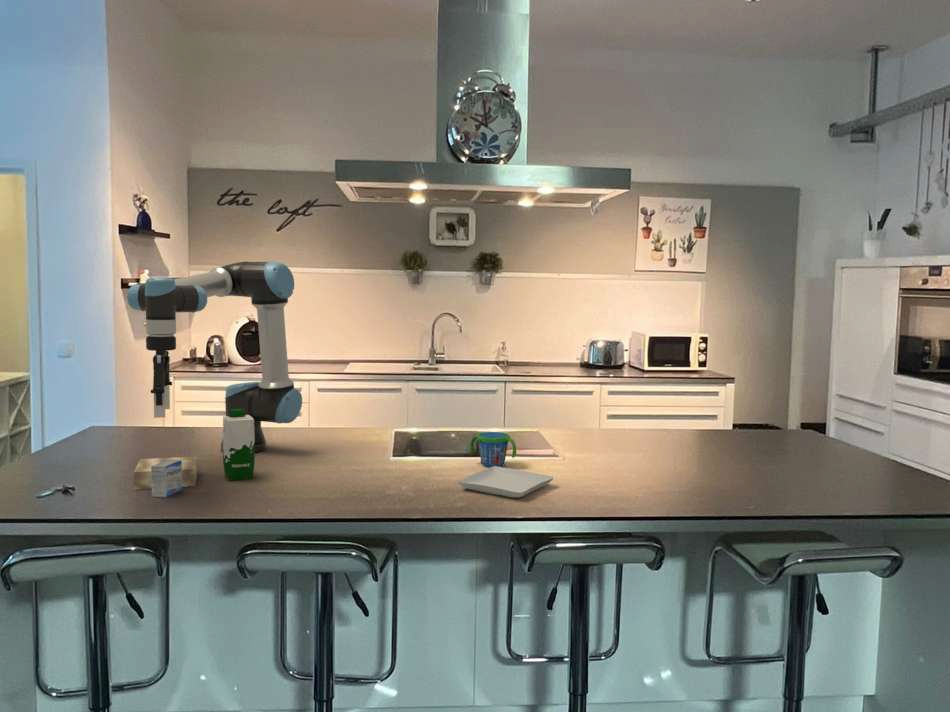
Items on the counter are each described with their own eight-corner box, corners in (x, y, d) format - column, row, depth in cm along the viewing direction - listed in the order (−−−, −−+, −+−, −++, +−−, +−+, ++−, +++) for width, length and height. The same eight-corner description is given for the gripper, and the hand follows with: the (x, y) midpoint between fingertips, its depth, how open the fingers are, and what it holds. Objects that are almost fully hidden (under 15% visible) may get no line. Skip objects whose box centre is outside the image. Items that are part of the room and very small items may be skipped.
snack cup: (463, 465, 253) (464, 434, 252) (480, 459, 262) (480, 429, 261) (505, 472, 245) (506, 440, 244) (521, 465, 254) (522, 434, 253)
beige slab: (197, 472, 237) (197, 456, 236) (195, 486, 222) (195, 468, 221) (140, 475, 232) (140, 459, 231) (134, 489, 217) (133, 472, 216)
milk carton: (250, 472, 239) (250, 407, 237) (257, 479, 231) (256, 412, 229) (221, 474, 235) (220, 409, 233) (226, 482, 227) (225, 414, 225)
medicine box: (166, 498, 209) (165, 466, 209) (151, 496, 210) (150, 465, 209) (182, 490, 217) (182, 460, 216) (168, 489, 218) (167, 458, 217)
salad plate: (520, 503, 212) (521, 491, 212) (455, 491, 223) (455, 479, 223) (555, 487, 230) (555, 475, 230) (493, 476, 241) (493, 465, 241)
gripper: (151, 332, 221) (152, 406, 223) (140, 338, 197) (141, 421, 199) (179, 332, 223) (180, 405, 225) (172, 338, 199) (173, 420, 201)
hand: (162, 413), depth 212 cm, fingers open, 13 cm apart
